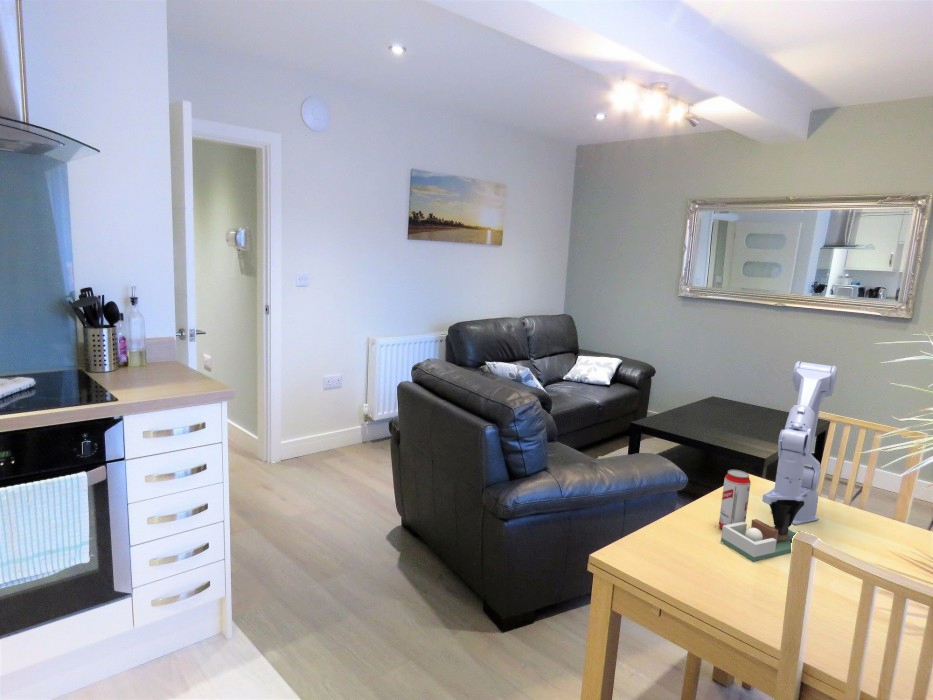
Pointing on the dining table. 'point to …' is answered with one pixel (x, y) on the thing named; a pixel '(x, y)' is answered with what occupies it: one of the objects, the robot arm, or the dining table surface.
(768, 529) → the slider
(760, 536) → the ball
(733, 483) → the beer can
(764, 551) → the pitch
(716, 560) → the dining table surface
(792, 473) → the robot arm
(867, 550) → the dining table surface
